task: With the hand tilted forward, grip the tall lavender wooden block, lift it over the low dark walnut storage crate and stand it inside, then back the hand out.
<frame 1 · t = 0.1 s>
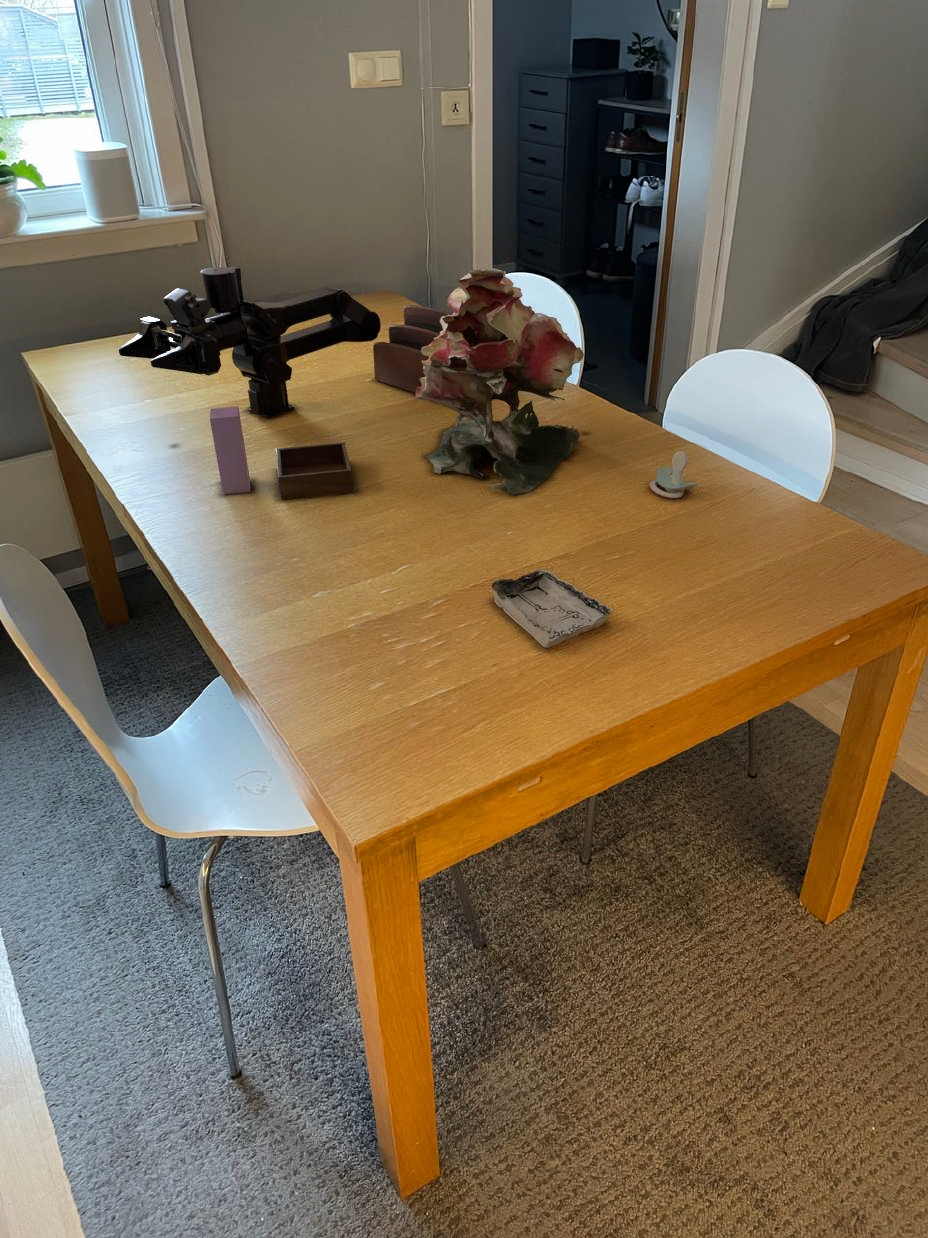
hand: (135, 358, 150), 17 cm above the table, tool horizontal, fingers open, 9 cm apart
letter holder: (426, 386, 185), on the table
crate: (315, 480, 149), on the table
pacifier: (670, 491, 144), on the table
rose bouquet: (491, 453, 157), on the table
block: (236, 487, 148), on the table
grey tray: (547, 615, 116), on the table
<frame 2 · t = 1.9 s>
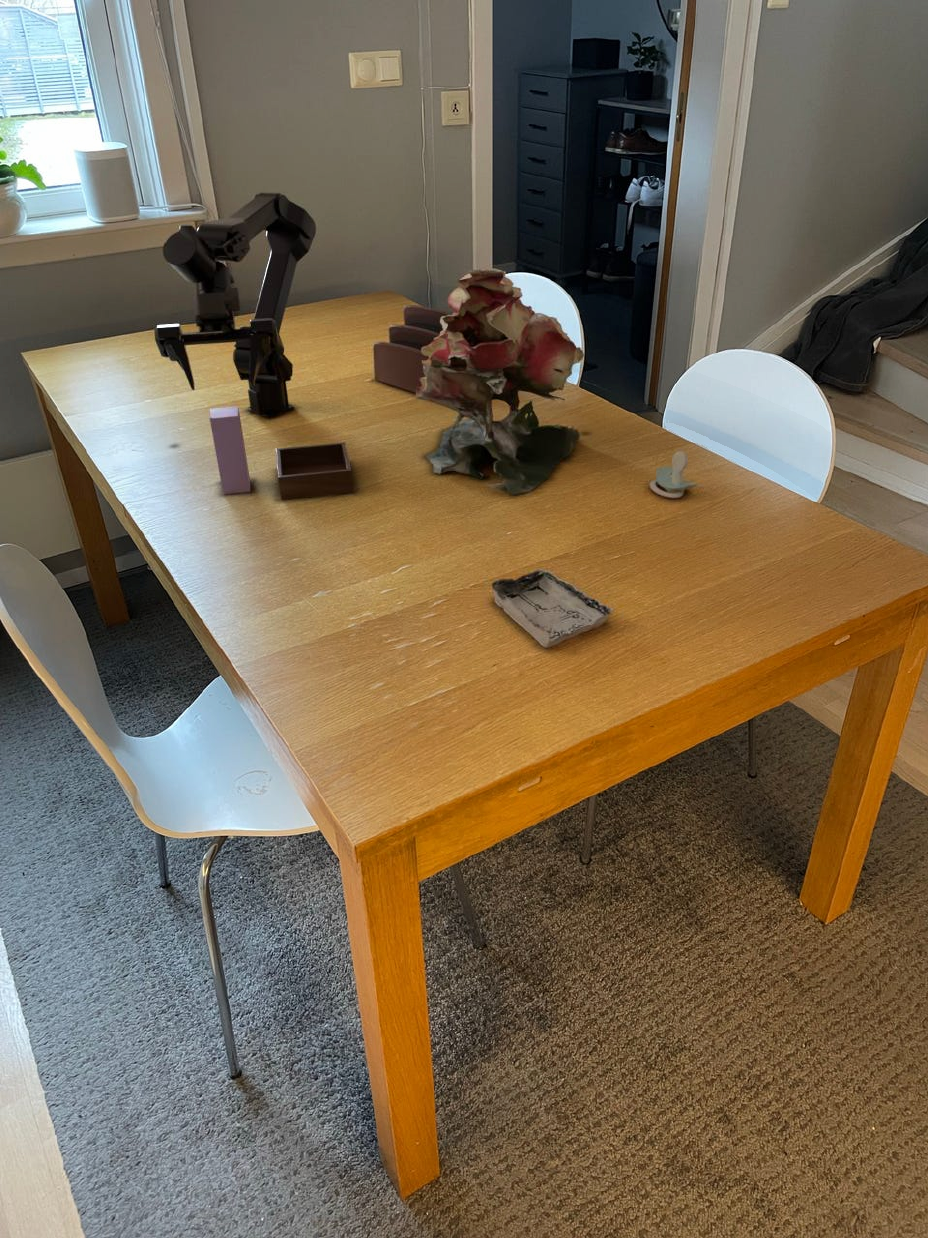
hand: (222, 386, 147), 14 cm above the table, tool tilted 45°, fingers open, 9 cm apart
nothing on the table moved.
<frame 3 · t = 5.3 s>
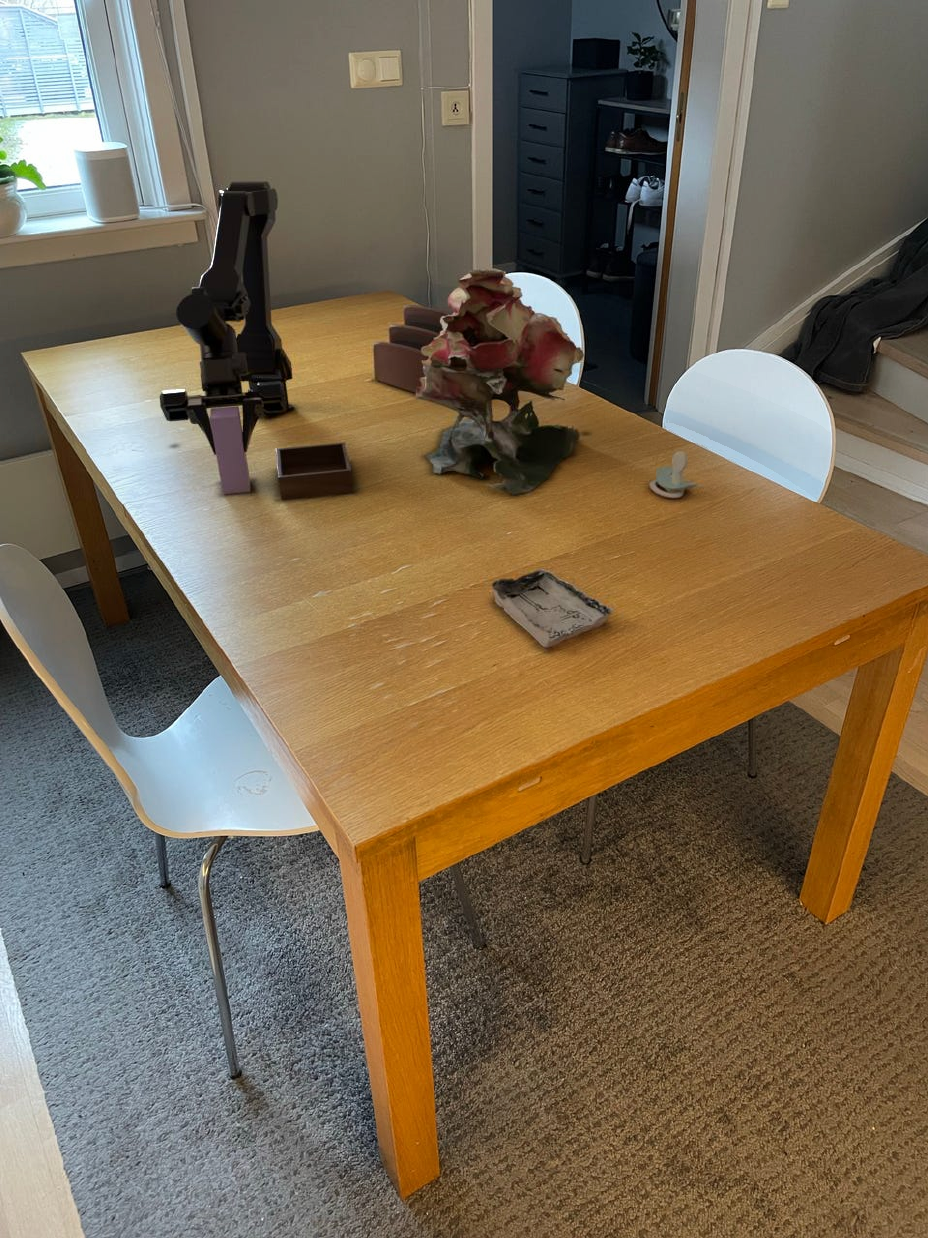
hand: (230, 452, 143), 7 cm above the table, tool tilted 45°, fingers closed on block, 4 cm apart
block: (236, 487, 148), on the table, touching gripper
everything else where it was.
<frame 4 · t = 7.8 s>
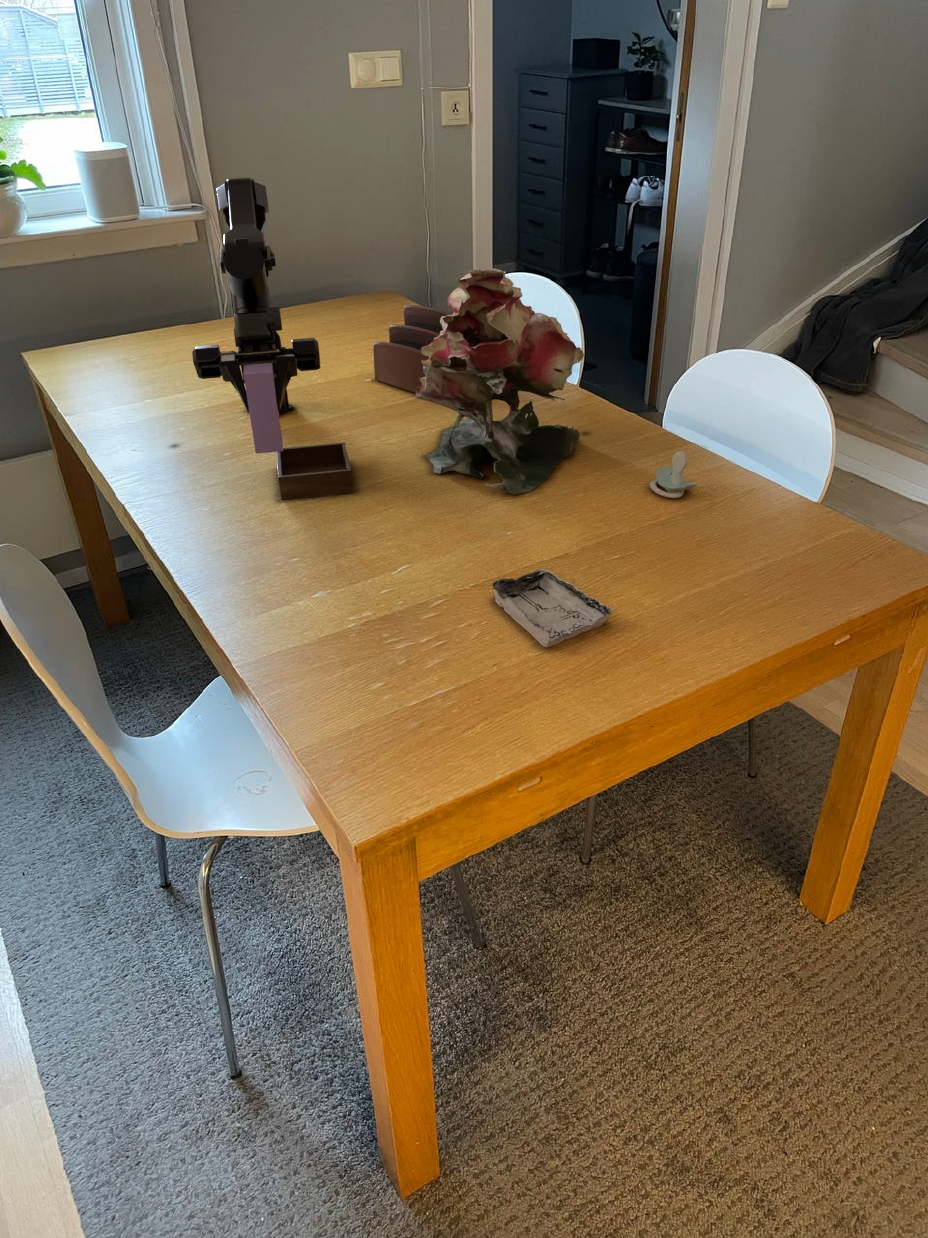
hand: (263, 410, 140), 13 cm above the table, tool tilted 45°, fingers closed on block, 4 cm apart
block: (269, 447, 145), point 6 cm above the table, touching gripper
everything else where it was.
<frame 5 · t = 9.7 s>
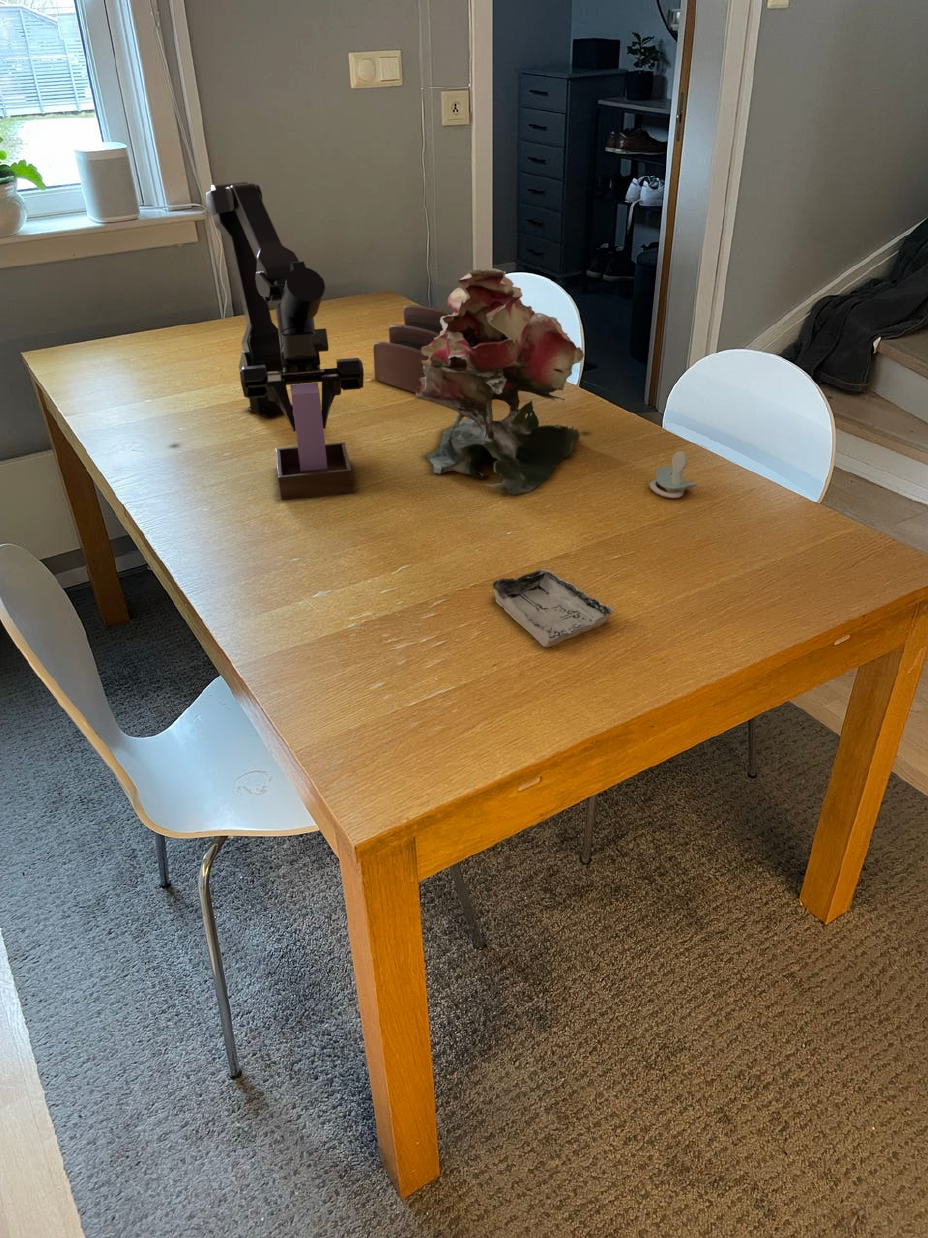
hand: (309, 429, 143), 9 cm above the table, tool tilted 45°, fingers closed on block, 4 cm apart
block: (313, 464, 148), point 3 cm above the table, touching gripper
everything else where it was.
when the fingers open (7 cm above the table, at t = 10.7 s): block stays where it is, resting on crate.
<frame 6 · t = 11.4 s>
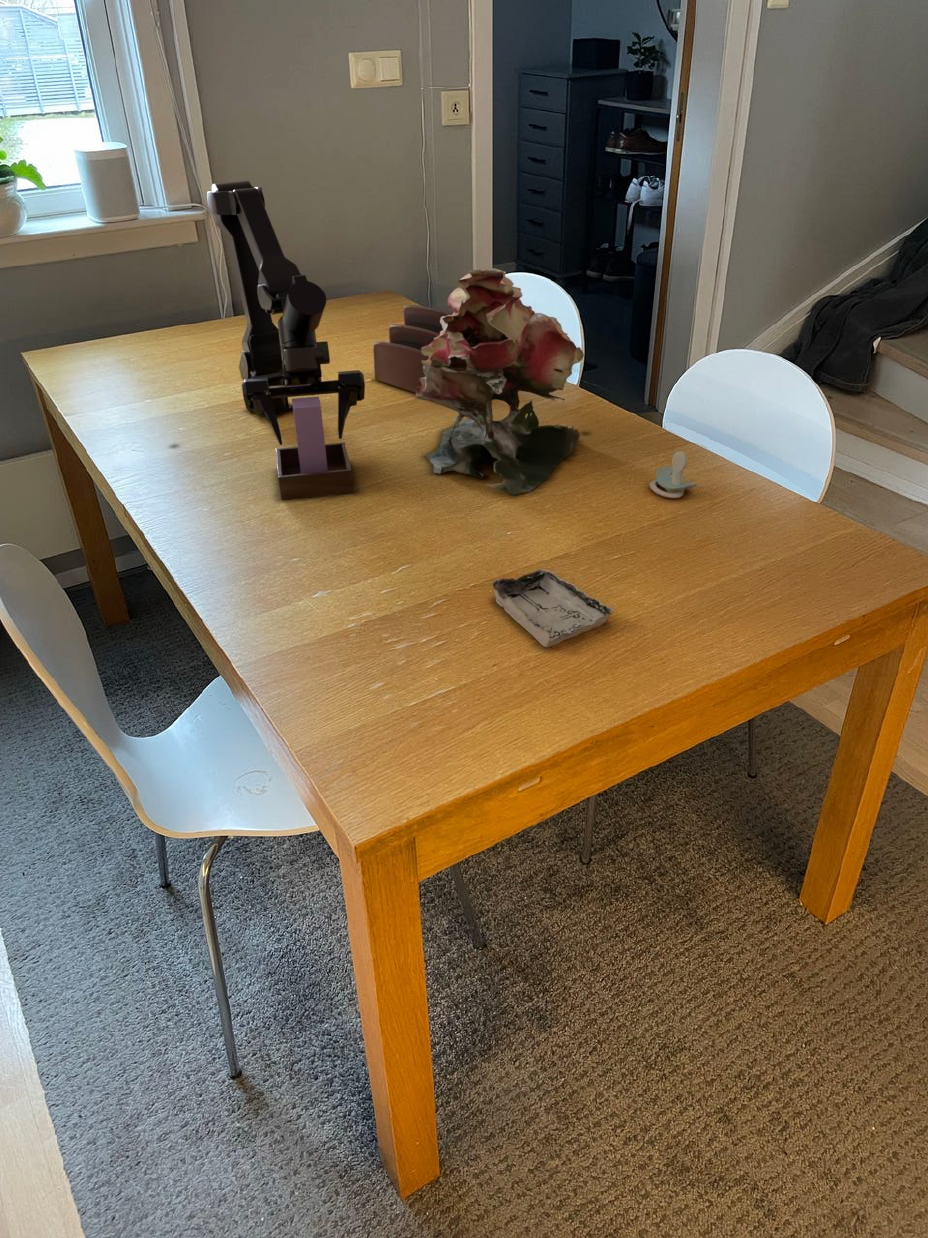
hand: (310, 440, 144), 7 cm above the table, tool tilted 45°, fingers open, 9 cm apart
block: (314, 477, 149), point 1 cm above the table, touching crate
everything else where it was.
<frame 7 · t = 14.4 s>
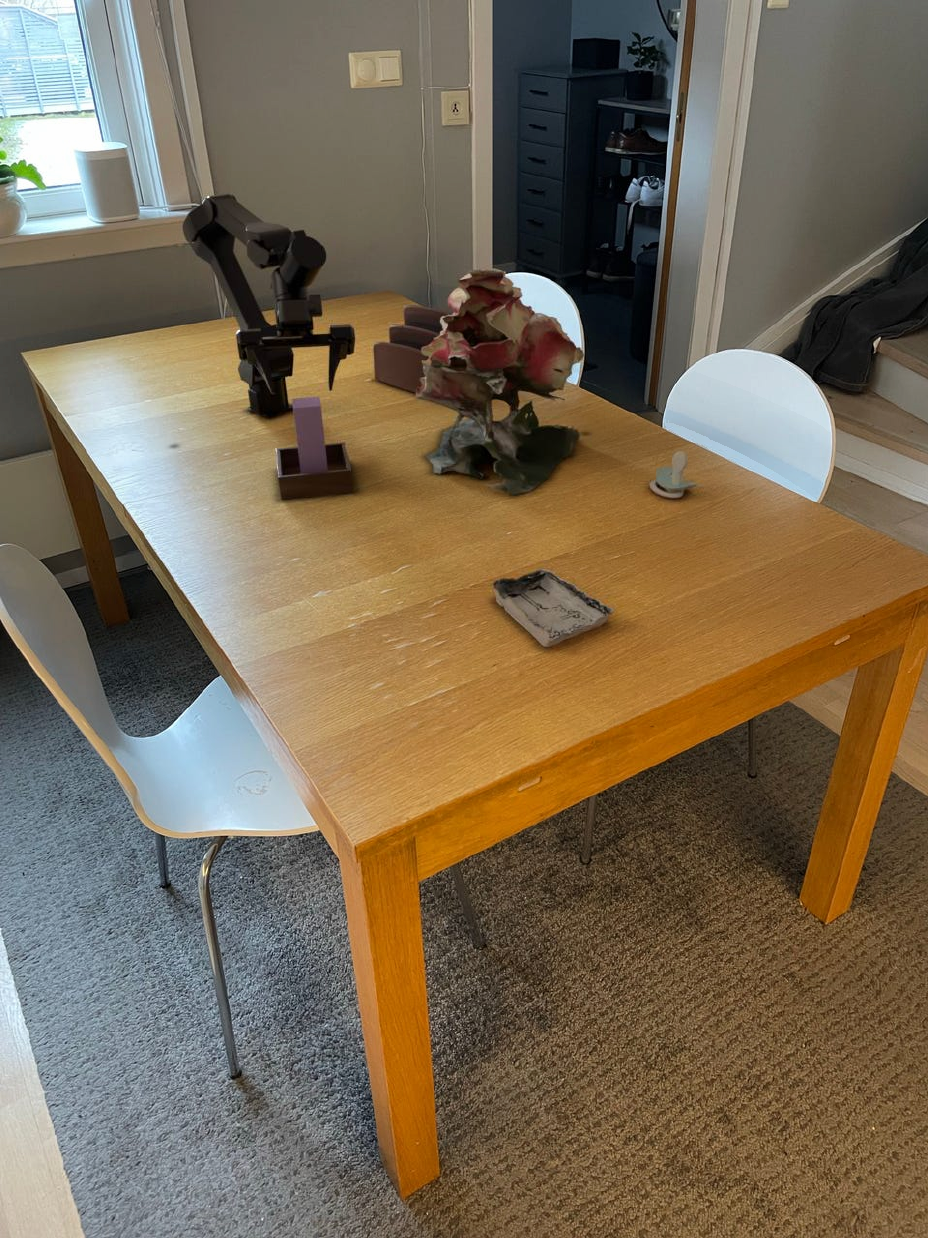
hand: (302, 391, 149), 12 cm above the table, tool tilted 45°, fingers open, 9 cm apart
nothing on the table moved.
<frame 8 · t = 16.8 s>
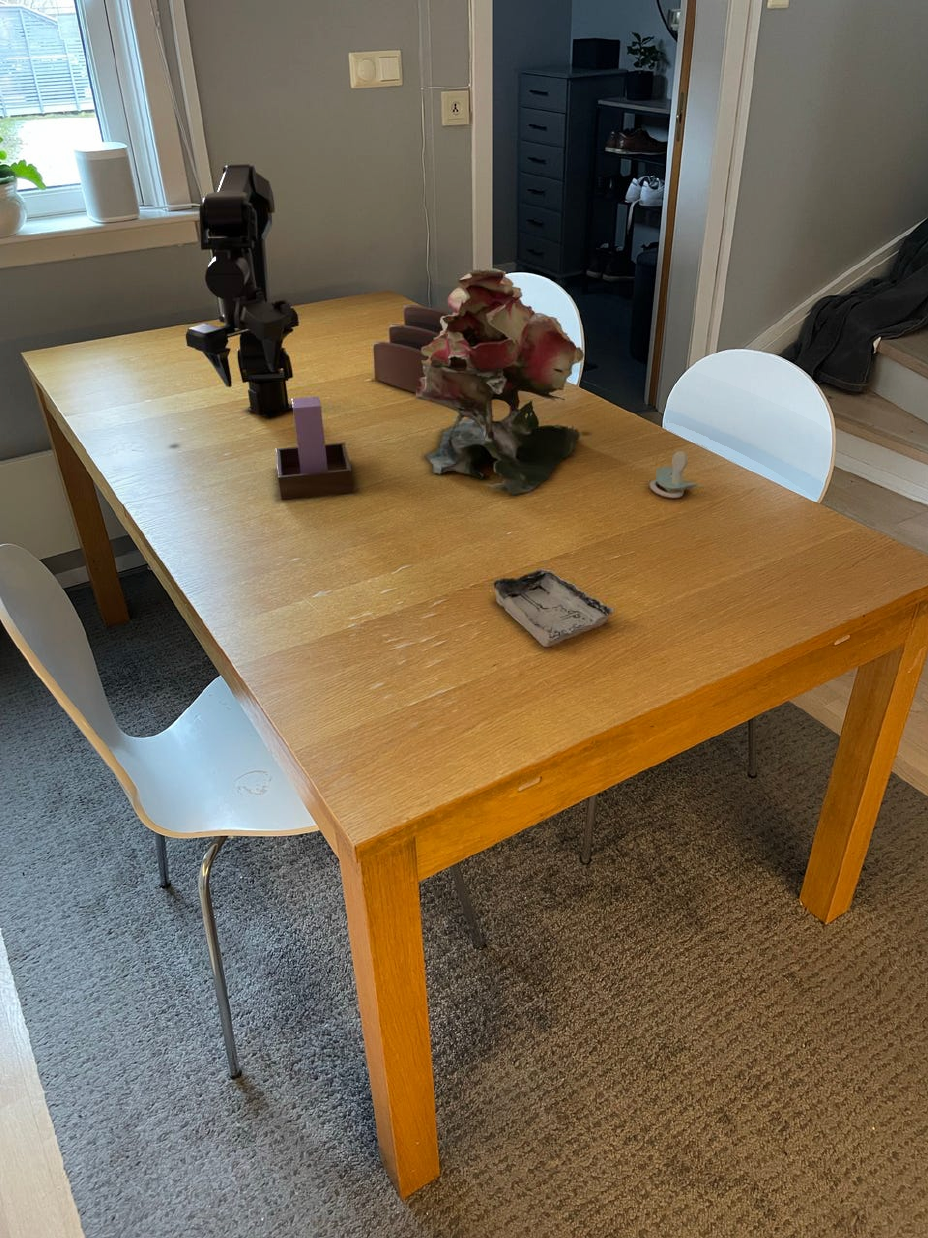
hand: (251, 378, 154), 12 cm above the table, tool pointing down, fingers open, 9 cm apart
nothing on the table moved.
at the end: block inside the target area in the crate (0.0 cm from its centre), point 0.6 cm above the crate's base; block tilted 0°; the gripper is holding nothing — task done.
